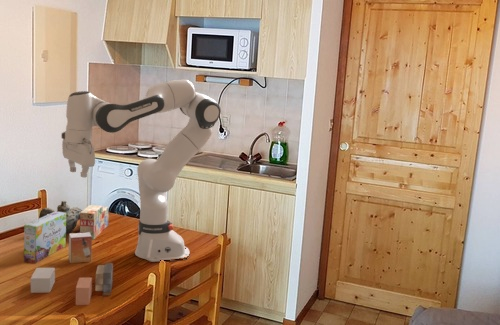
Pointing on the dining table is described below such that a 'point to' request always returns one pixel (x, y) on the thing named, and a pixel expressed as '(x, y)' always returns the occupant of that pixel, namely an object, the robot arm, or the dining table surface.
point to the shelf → (104, 278)
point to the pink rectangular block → (83, 291)
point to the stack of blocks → (94, 220)
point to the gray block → (42, 280)
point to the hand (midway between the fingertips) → (78, 174)
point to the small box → (80, 247)
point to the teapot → (71, 215)
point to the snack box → (44, 236)
